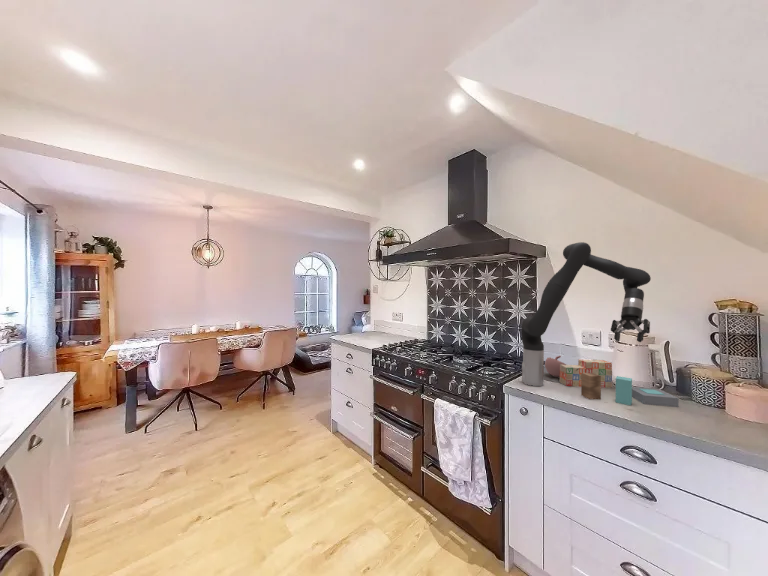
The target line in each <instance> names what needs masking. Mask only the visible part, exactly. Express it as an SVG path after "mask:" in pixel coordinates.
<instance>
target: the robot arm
mask: <svg viewBox="0 0 768 576" xmlns="http://www.w3.org/2000/svg"><path fill="white" fill-rule="evenodd" d="M562 256H563V258H564V259H565V262H564V264H563V266H561V268H559V270H558V271H557V272H556V273H555V274H554V275H553V276H552V277H551V278H550V279H549V280H548V282H547V284H546V285H545V287H544V289H543V291H542V294H541V299H540V304H539V306H538V308H537V310H536V312H535V313H534V314H533V316H528V317H526V318H524V319H523V321H522V324H521V342H522V347H523V352H522V353H523V355H522V360H523V361H522V362H521V381H522V383H523V382H524V383H523V384H524V385H527V384H528V385H529V386H531V385H533V386H532V387H543V386H544V385H545V384H544V383H545V380H544V376H545V375H544V374H545V373H544V371H545V369H544V368H545V361H544V359H545V358H544V357H545V356H544V355H545V350H544V349H545V347H544V346H545V345H544V343H543V342H542V336H543V335H544V334H545V333H546V331H547V329H548V327H549V325H550V323H551V320H552V318H553V316H554V314H555V312H556V310H557V309H558V307H559V306H560V304H561V302H562V301H563V299H564V297H565V296H566V294H567V292H568V290H569V288H570V287H571V286H572V283H573V282H574V280H575V278H576V277H577V275H578V274H579V272H580V271H581V268H582V267H583V266H585V267H588V268H591V269H594V270H596V271H598V272H600V273H603V274H605V275H607V276H610V277H612V278H614V279H616V280H622V285H623V289H624V298H623V302H622V307H621V314H620V320H616V319H613V320H612V321H611V322H612V323H611V327H610V331H611V332H612V333H613V334H614V337H613V338H614V340H615V341H616V342H620V340H621V334H622V333H623V332H625V331H630V330H631V331H637V335H636V341H637V342H638V343H642V342H643V341H644V335H646V334H650V331H651V321H649V319H647V318H644V319H642V318H643V311H644V299H645V292H644V290H643V289H641V288H639V287H641V286H645V285H647V284H649V283H650V281H651V279H652V278H651V275H650V274H649V273H648V272H647V271H645V270H643V269H640V268H637V267H636V268H635V267H630V266H625V265H624V264H621V263H620V262H617V261H614V260H612V259H609V258H608V259H607V258H604V257H600V256H596V255H593V254H592V248H591V246H590V244H589V243H587V242H584V241H583V242H581V241H580V242H576V243H570V244H569V245H566V246H565V247H564V249H563V251H562ZM642 325H643V329H642V328H641V326H642Z"/></svg>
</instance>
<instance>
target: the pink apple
mask: <svg viewBox="0 0 768 576" xmlns="http://www.w3.org/2000/svg"><path fill="white" fill-rule="evenodd" d="M561 356H562V355H557V356H555V358H553V357H547V358H546V359H545V361H544V368H545V370H546V372H547V373H548V374H549V375H551V376H553V377H554V378H560V365H568V364H567V363H564V362H562V361H560V360H558V359H560V358H562V357H561Z"/></svg>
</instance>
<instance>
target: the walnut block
mask: <svg viewBox="0 0 768 576" xmlns="http://www.w3.org/2000/svg"><path fill="white" fill-rule="evenodd" d="M580 388H581V391H580V392H581V396H582V397H584V398H586V399H588V400H601V399H602V397H601V396H602V394H601V393H602V387H601V376H599V375H597V374H594V373H581V387H580Z"/></svg>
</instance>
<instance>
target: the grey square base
mask: <svg viewBox="0 0 768 576" xmlns="http://www.w3.org/2000/svg"><path fill="white" fill-rule="evenodd" d="M632 399H634V400H636V401H637V402H639V403H641V404H642V405H649V406H650V405H651V406H662V407H673V408H674V407H676V408H679V397H677V396H675V395H674V394H673V395H672V394H671V393H668V392H666V391H664V390H662V389H660V388H657V387H656V388H653V387H641V386H640V387H639V386H632Z"/></svg>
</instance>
